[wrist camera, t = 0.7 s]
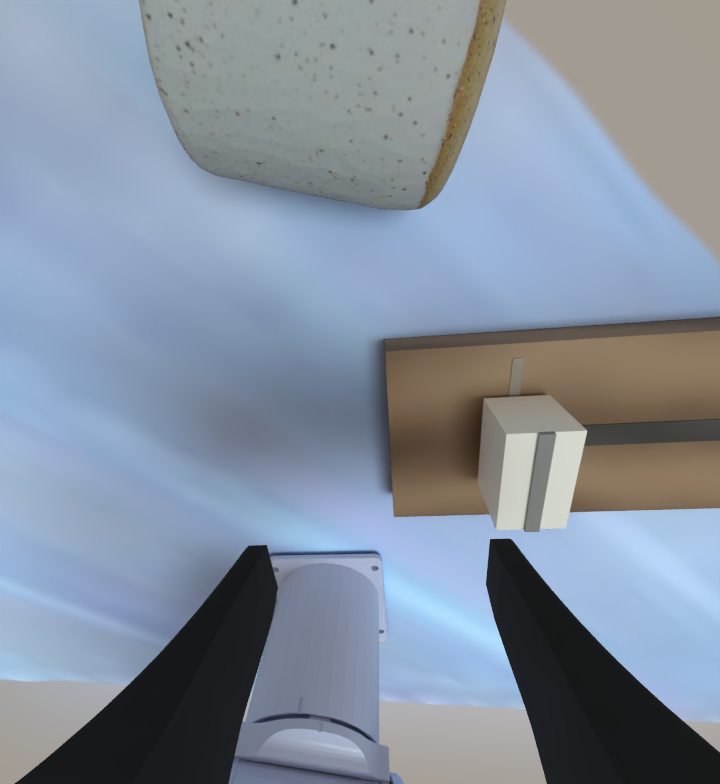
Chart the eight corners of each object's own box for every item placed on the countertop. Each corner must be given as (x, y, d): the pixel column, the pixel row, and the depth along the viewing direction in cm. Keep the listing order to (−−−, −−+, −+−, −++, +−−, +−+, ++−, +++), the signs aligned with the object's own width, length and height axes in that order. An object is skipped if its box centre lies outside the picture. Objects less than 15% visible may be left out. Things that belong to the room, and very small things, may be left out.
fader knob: (535, 480, 18) (567, 531, 15) (477, 482, 18) (497, 532, 15) (549, 394, 16) (589, 432, 13) (483, 397, 16) (507, 436, 13)
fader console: (809, 479, 20) (853, 505, 18) (392, 493, 22) (394, 517, 20) (908, 304, 16) (977, 314, 14) (384, 339, 18) (385, 352, 16)
